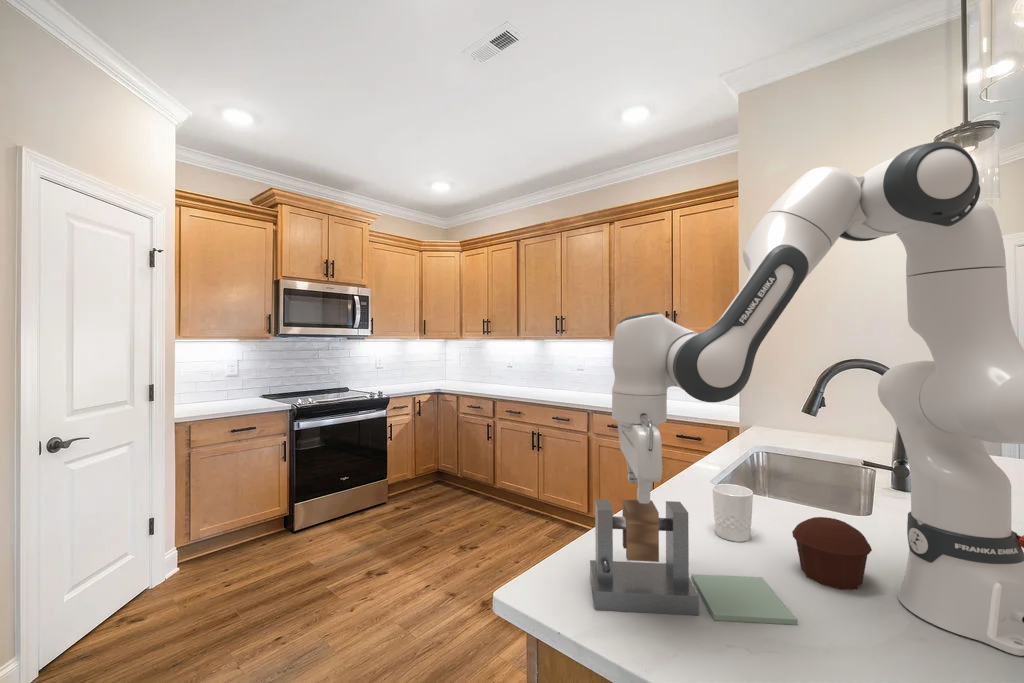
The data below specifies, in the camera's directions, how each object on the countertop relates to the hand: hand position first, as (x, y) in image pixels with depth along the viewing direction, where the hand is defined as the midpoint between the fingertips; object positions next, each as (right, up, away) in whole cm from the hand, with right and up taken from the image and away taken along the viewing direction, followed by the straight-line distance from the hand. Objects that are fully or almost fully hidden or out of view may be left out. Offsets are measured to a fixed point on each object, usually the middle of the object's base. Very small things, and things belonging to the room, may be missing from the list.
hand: (638, 491), depth 76 cm
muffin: (+36, -17, +5) cm, 40 cm away
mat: (+16, -17, -2) cm, 24 cm away
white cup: (+27, -17, +22) cm, 39 cm away
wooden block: (0, -10, 0) cm, 10 cm away
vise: (0, -17, 0) cm, 17 cm away
